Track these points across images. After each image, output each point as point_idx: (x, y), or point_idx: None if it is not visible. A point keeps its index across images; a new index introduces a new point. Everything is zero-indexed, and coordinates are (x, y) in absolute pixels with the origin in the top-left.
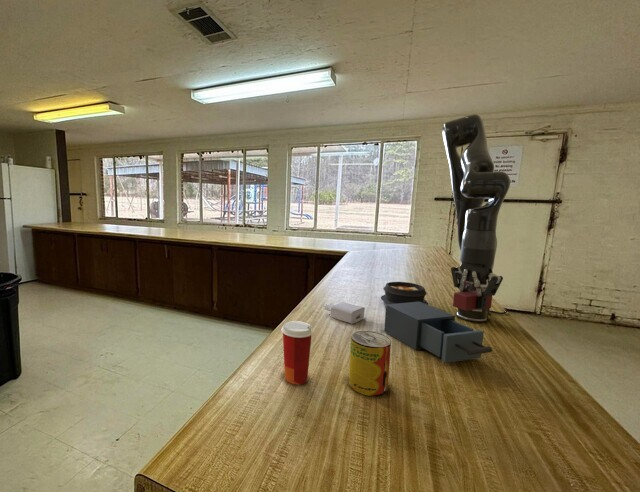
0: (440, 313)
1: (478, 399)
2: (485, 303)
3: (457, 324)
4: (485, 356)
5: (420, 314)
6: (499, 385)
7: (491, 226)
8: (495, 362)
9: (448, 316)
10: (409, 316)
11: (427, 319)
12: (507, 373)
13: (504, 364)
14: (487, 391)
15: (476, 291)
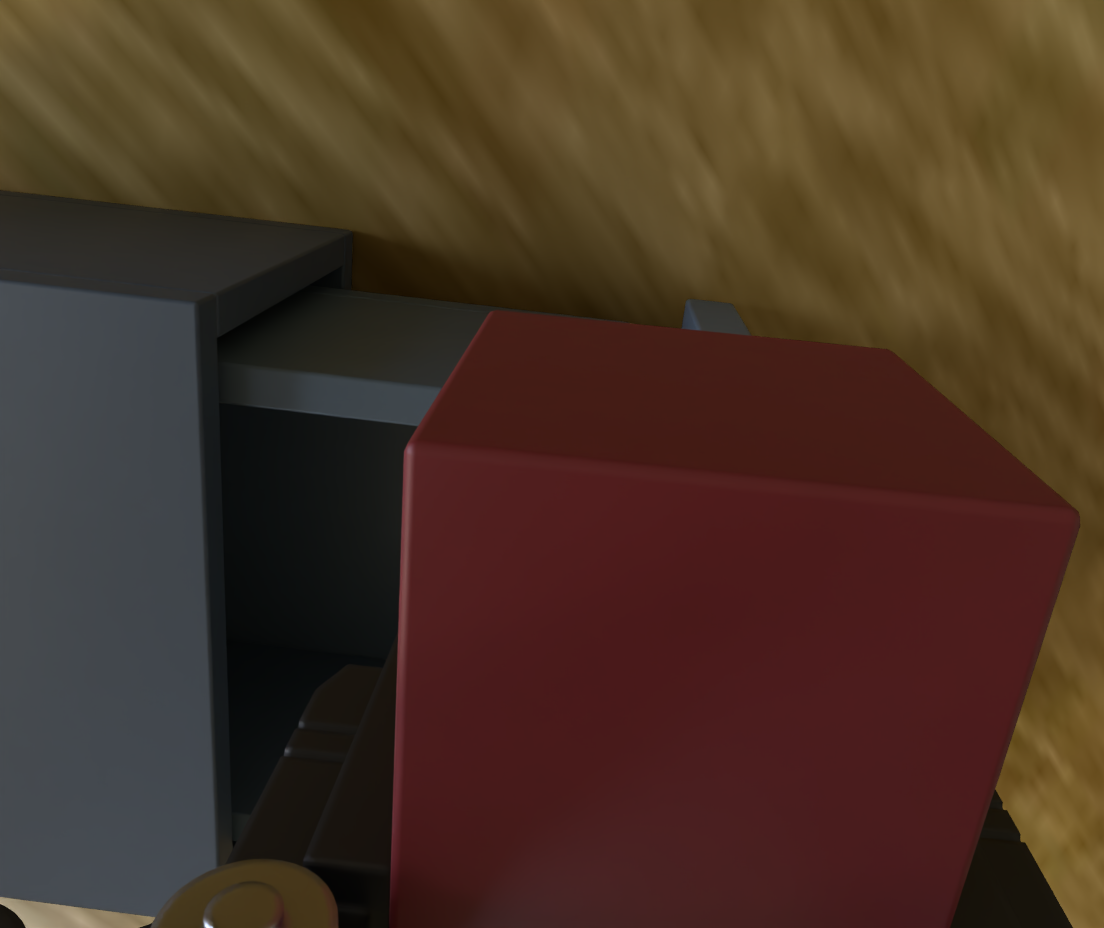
0: (42, 437)
1: (1066, 870)
2: (1011, 840)
3: (390, 420)
4: (685, 132)
5: (38, 751)
6: (1063, 580)
7: None
8: (820, 173)
9: (198, 444)
10: (66, 895)
11: (220, 795)
12: (1004, 303)
13: (892, 122)
14: (1052, 737)
15: (506, 712)
